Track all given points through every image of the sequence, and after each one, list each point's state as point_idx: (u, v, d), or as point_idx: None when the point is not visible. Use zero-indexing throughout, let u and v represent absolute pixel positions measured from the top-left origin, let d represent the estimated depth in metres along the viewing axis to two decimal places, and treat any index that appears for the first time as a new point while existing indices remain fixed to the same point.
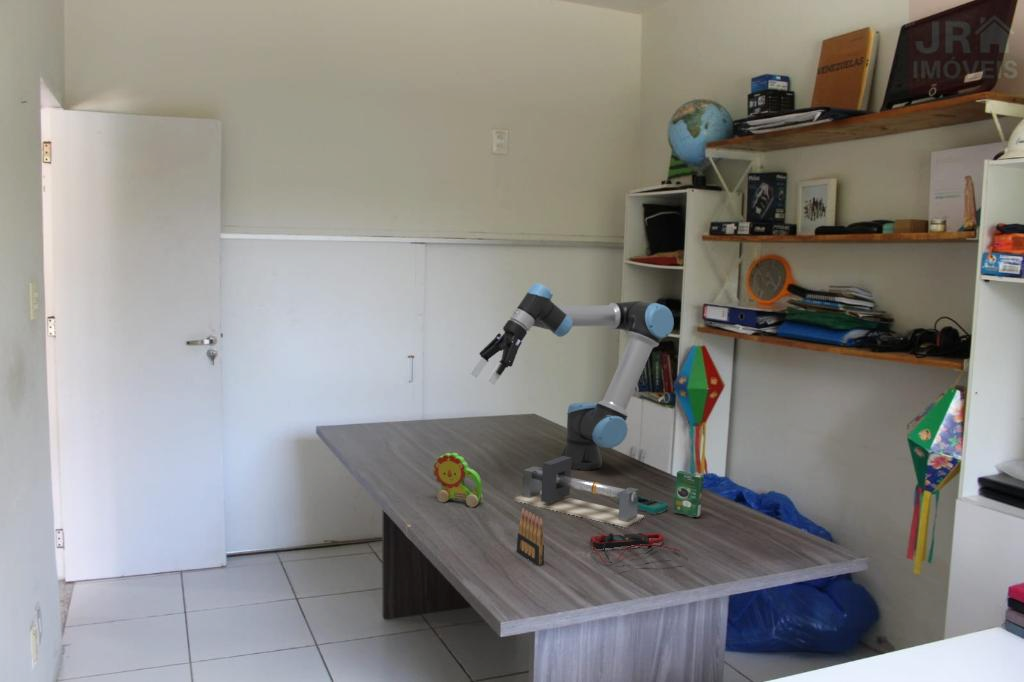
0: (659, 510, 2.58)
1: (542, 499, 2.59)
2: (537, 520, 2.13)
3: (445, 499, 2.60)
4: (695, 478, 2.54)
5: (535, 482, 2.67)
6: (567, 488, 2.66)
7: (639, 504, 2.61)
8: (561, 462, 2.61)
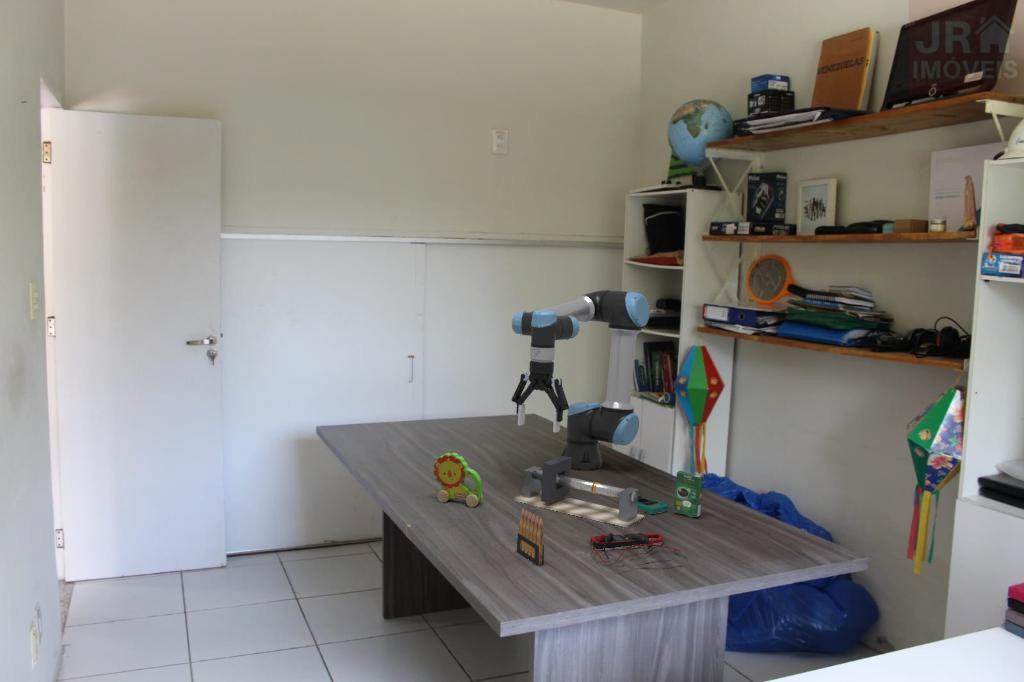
0: (657, 510, 2.58)
1: (542, 499, 2.59)
2: (537, 520, 2.13)
3: (445, 499, 2.60)
4: (695, 478, 2.54)
5: (535, 482, 2.67)
6: (567, 488, 2.66)
7: (638, 504, 2.61)
8: (561, 462, 2.61)
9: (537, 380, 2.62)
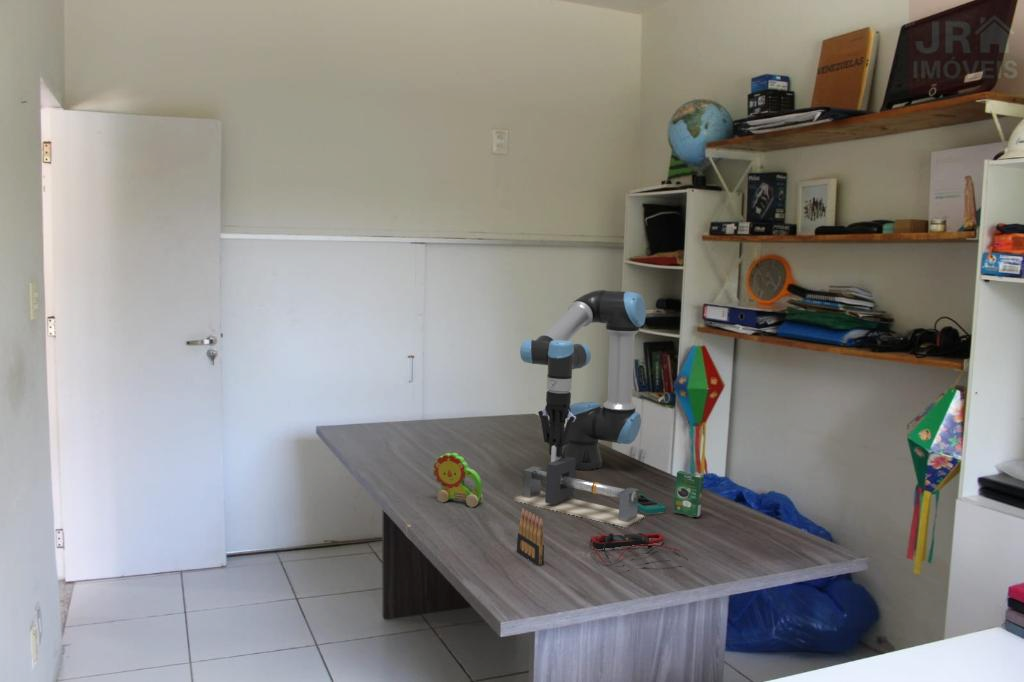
0: (653, 511, 2.57)
1: (546, 500, 2.58)
2: (537, 520, 2.13)
3: (445, 499, 2.60)
4: (695, 478, 2.54)
5: (535, 482, 2.67)
6: (571, 489, 2.65)
7: None
8: (565, 463, 2.60)
9: (553, 409, 2.60)
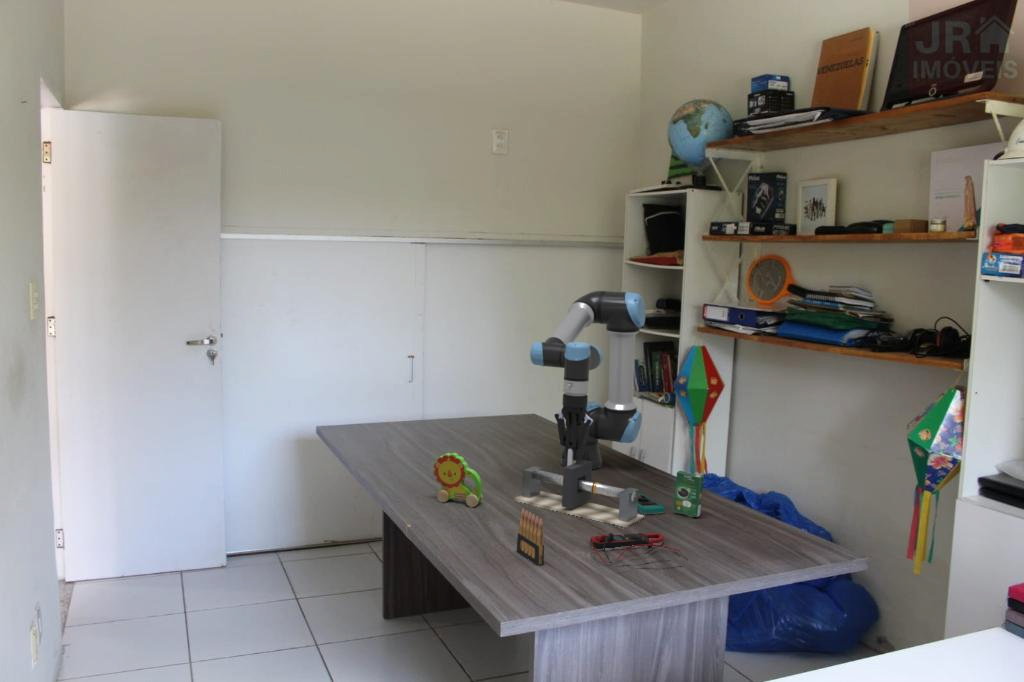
0: (651, 511, 2.57)
1: (563, 504, 2.54)
2: (537, 520, 2.13)
3: (445, 499, 2.60)
4: (695, 478, 2.54)
5: (535, 482, 2.67)
6: (588, 493, 2.61)
7: None
8: (582, 466, 2.57)
9: (570, 412, 2.56)
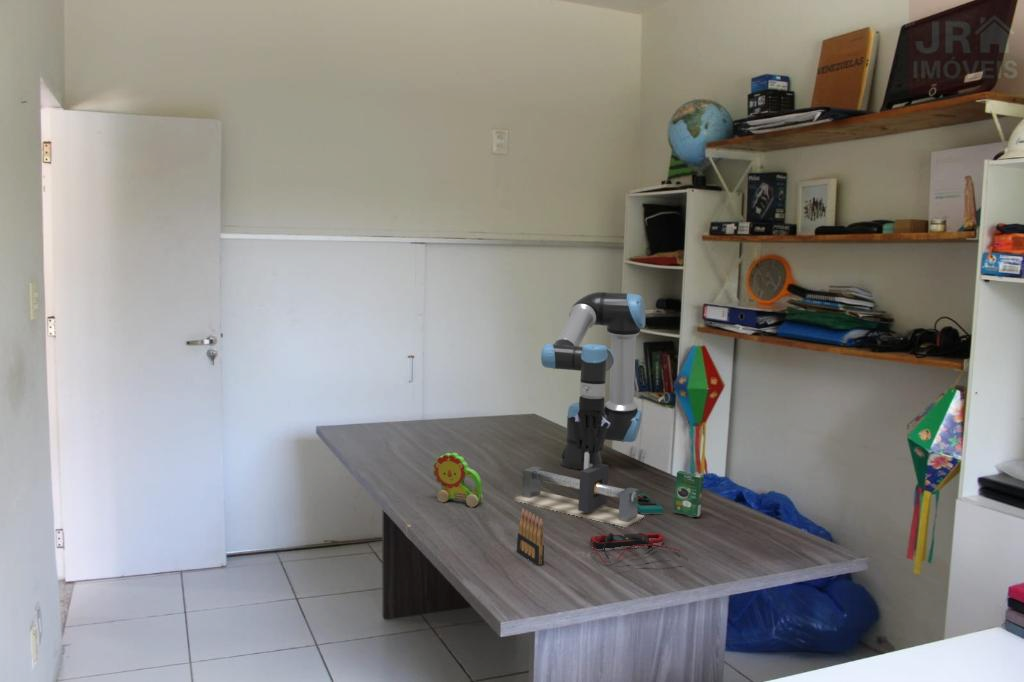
0: (648, 511, 2.56)
1: (579, 508, 2.51)
2: (537, 520, 2.13)
3: (445, 499, 2.60)
4: (695, 478, 2.54)
5: (535, 482, 2.67)
6: (604, 497, 2.58)
7: None
8: (599, 470, 2.53)
9: (586, 415, 2.53)
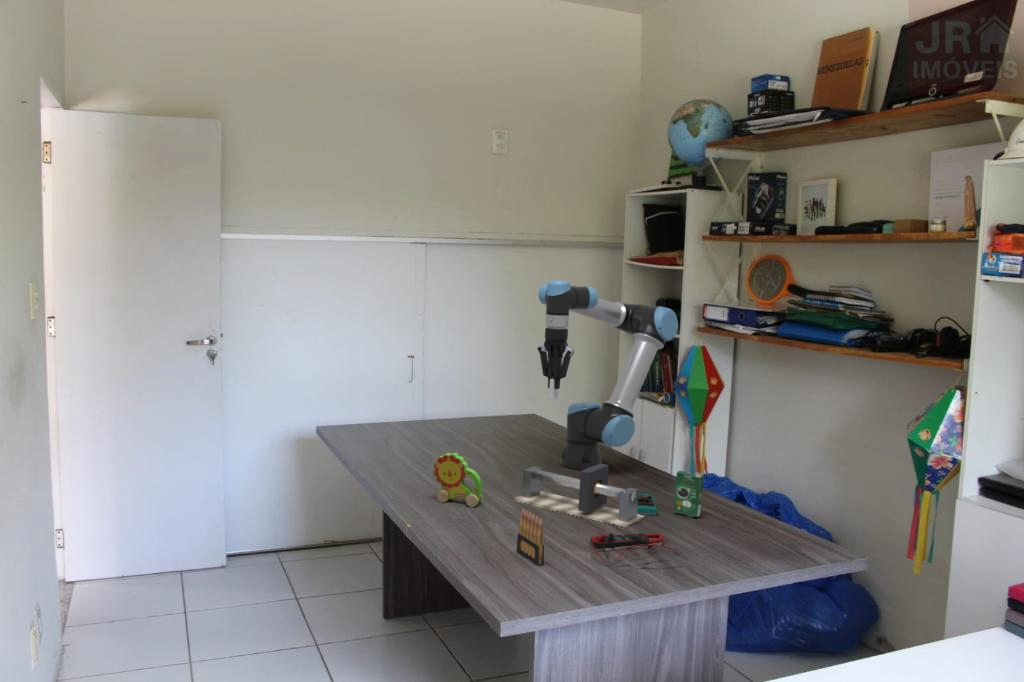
0: (641, 511, 2.56)
1: (579, 508, 2.51)
2: (537, 520, 2.13)
3: (445, 499, 2.60)
4: (695, 478, 2.54)
5: (535, 482, 2.67)
6: (604, 497, 2.58)
7: None
8: (599, 470, 2.53)
9: (551, 345, 2.79)
